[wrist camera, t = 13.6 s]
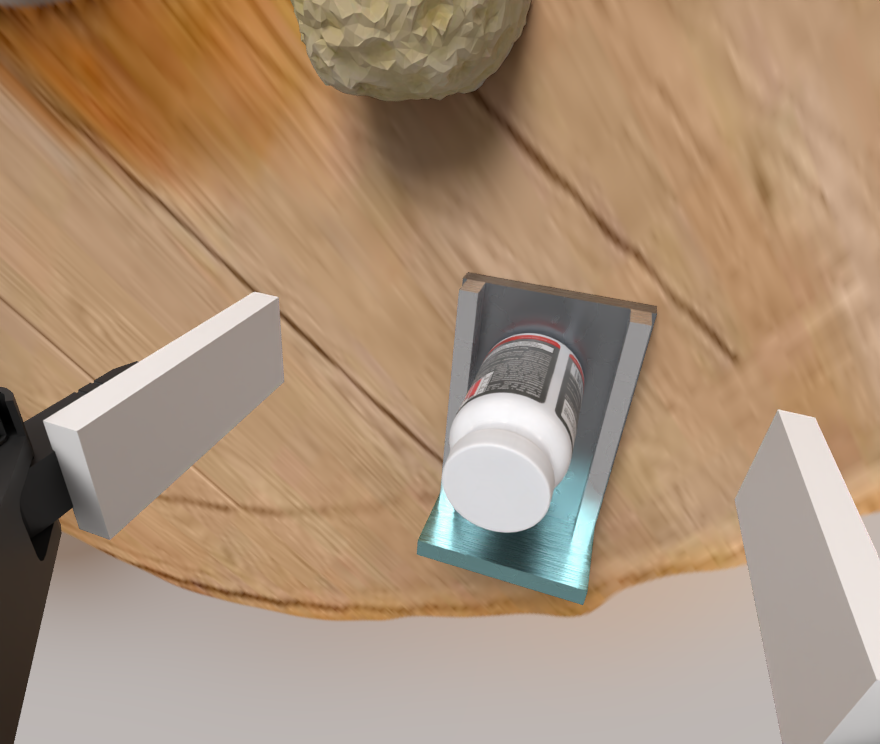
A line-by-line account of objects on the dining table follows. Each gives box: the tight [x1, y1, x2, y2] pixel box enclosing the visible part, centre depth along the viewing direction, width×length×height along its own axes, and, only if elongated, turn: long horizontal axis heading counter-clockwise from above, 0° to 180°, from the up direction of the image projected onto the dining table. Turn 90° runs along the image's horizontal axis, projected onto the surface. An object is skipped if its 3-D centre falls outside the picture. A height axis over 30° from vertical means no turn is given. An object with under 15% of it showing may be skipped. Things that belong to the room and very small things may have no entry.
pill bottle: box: [442, 333, 584, 533], centre depth 28 cm, size 6×6×10 cm
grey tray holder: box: [417, 272, 657, 605], centre depth 32 cm, size 16×10×6 cm, turn 176°
